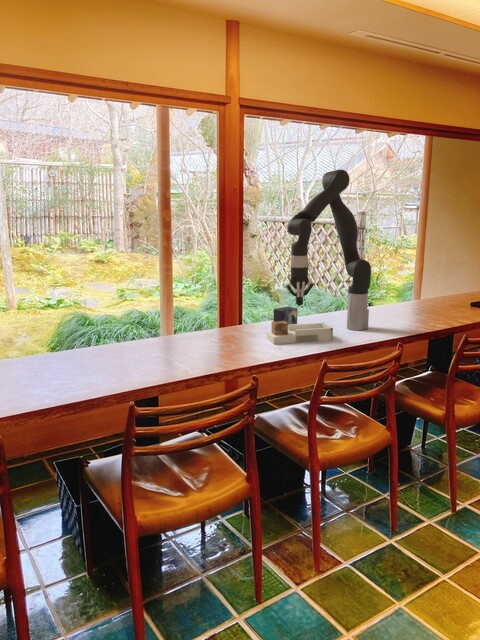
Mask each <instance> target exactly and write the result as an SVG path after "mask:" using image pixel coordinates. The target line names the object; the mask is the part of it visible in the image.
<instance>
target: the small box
mask: <svg viewBox="0 0 480 640" xmlns="http://www.w3.org/2000/svg"><path fill="white" fill-rule="evenodd" d="M272 315H273V319H272V322H274V321H285V322H287V323H288V325H291V324H298V308H297V307H294V306H291V305H289V306H283V307H282V306H281V307H276V308H273V314H272Z"/></svg>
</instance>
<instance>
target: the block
mask: <svg viewBox="0 0 480 640" xmlns="http://www.w3.org/2000/svg"><path fill="white" fill-rule="evenodd" d="M271 331H272V333H273V334H274V335H288V323H287V322H285V321H274V322H273V321H271Z"/></svg>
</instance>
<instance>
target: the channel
mask: <svg viewBox="0 0 480 640" xmlns="http://www.w3.org/2000/svg"><path fill="white" fill-rule="evenodd" d="M333 334H334V327H333V326H330V325H328V324H326V323H325V322H313V323H312V322H311V323H297V324H291V325H288V335H274V334H273V333H272V330H266V337H265V338H266V339H267V340H268V341H269V342H270V343H272V344H273V345H280V344H281V345H282V344H296V343H298V342H299V343H312V342H324V341H325V342H327V341H333V338H334V337H333Z"/></svg>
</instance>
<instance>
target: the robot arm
mask: <svg viewBox="0 0 480 640" xmlns="http://www.w3.org/2000/svg"><path fill="white" fill-rule="evenodd" d="M350 180H351V179H350V174H349V173H348V172H347V171H346V170H344V169H335V170H331V171H328V172H325V173H323V175H322V178H321V185H322V188H323V190H322V191H321V192H319V193H318V194H317V195H315V196H314V197H313V198H311V199H310V200H309V201H308V202H307V204H306V205H305V207H304V208H302V209H301V211H299V212H298V213H296V214H295V215H294V216H293V217H291V218H290V220H289V221H288V223H287V226H286V229H287V232H288V233H289V235H291V236H298V238H297V240H294V241H293V242H291V245H290V253H291V254H290V279H289V282H288V283H287V284H285V285H284V287H285V288H286V290H288V293H290V294H291V296H293V297H295V304H296V305H297V306H299V307H300V306H301V307H302V305H303V304H304V297H305V296H307V295H308V294H309V293H310V292H311V290H312V288H314V283H312V282H310V279H309V258H308V255H309V254H308V252H309V251H308V248H309V247H308V245H309V242H310V238H311V234H312V229H313V227H312V223H313V222H315V221H316V220H317V219H318V218H319V216H320V215H321V213H323V211H324V210H325V209H326V207H327V206H328V205H329V207H330V211H331V213H332V216H333V221H334V225H335V228H336V232H337V235H338V238H339V242H340V245H341V249H342V250H341V251H342V253H343V259H344V264H345V265H344V266H345V270H346V273H347V275H348V276H350V277H351V278H352V284H351V285H349V286H348V288H347V313H346V315H347V317H346V329H348V330H352V331H364V330H366V329H367V330H368V329H369V319H370V318H369V315H370V313H369V312H370V310H369V308H368V302H369V301H368V299H369V297H368V296H369V289H370V287H371V280H372V278H371V277H372V266H371V264H370V262H369V261H368V260H366V259H362V258H361V257H360V254H359V251H358V246H357V245H358V236H359V230H358V225H357V221H356V218H355V215H354V214H353V212H352V211H351V210H350V209H349V208H348V207H347V205H346V204H345V203H344V201H343V200H342V197H341V193H342V192H344V191H345V190H346V189H347V188H348V186H349V184H350ZM292 287H293V289H294V290H293V289H292Z"/></svg>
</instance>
